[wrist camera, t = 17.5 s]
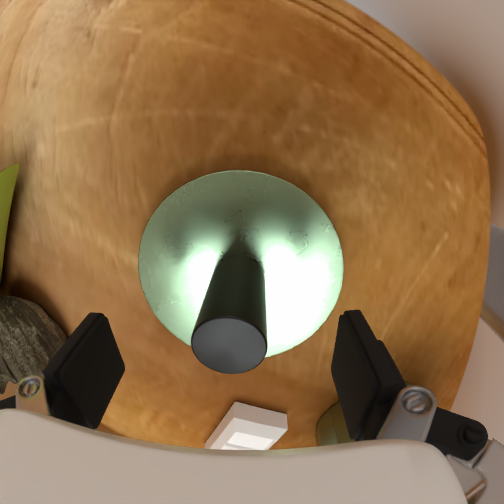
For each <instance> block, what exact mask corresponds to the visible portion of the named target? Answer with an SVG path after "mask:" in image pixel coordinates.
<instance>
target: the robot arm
mask: <svg viewBox="0 0 504 504" xmlns="http://www.w3.org/2000/svg"><path fill="white" fill-rule="evenodd" d="M124 371H125V365H124V362H123V360H122V357H121V354H120V352H119V349H118V347H117V344H116V341H115V338H114V336H113V333H112V330H111V327H110V324H109V321H108V319H107V317H105V316H104V314H102V313H93V312H91V313H89V314H88V315H87V316H86V318H85V319H84V320H83V321H82V322H81V323H80V325H79V326H78V327H77V328H76V329H75V331H74V332H73V333H72V334H71V336H70V337H69V338H68V339H67V341H66V342H65V343H64V344H63V346H62V347H61V348H60V349H59V351H58V352H57V353H56V354H55V356H54V357H53V358H52V360H51V361H50V362H49V364H48V365H47V366H46V368H45V369H44V370H43V372H42V373H43V375H44V376H45V378H44V379H42V378H41V377H40V376H37V375H30V376H27V377H25V378H23V379H22V380H21V381H20V382H19V383H18V384H17V387H16V391H15V393H16V395H15V396H12V397H9V398H7V399H4V400H1V401H0V504H504V445H502V444H501V443H499V442H498V441H497V440H495V439H494V438H493V439H492V440H491V441H490V440H489V439H488V434H487V430H486V429H485V427H484V426H483V425H482V424H481V423H480V422H478V421H476V420H473V419H470V418H467V417H464V416H461V415H458V414H455V413H452V412H450V411H447V410H444V409H441V408H439V407H437V400H436V397H435V395H434V394H433V392H431V391H430V390H429V389H428V388H425V387H423V386H418V385H411V386H408V387H407V386H406V384H405V382H404V380H403V378H402V376H401V374H400V372H399V370H398V369H397V367H396V365H395V363H394V361H393V359H392V358H391V356H390V354H389V352H388V351H387V349H386V347H385V345H384V343H383V342H382V341H381V340H377V339H376V337H375V335H374V334H373V332H372V330H371V328H370V327H369V325H368V323H367V321H366V320H365V318H364V316H363V314H362V313H361V311H360V310H349V311H345V312H344V315H340V317H339V322H338V329H337V336H336V342H335V348H334V354H333V359H332V365H331V372H332V376H333V380H334V383H335V387H336V390H337V394H338V397H339V401H340V404H341V408H342V411H343V415H344V419H345V422H346V426H347V430H348V433H349V437H350V439H355V442H350V443H341V444H334V445H326V446H317V447H306V448H293V449H276V450H222V449H205V448H193V447H183V446H174V445H167V444H160V443H154V442H148V441H142V440H137V439H132V438H127V437H122V436H118V435H113V434H109V433H105V432H101V431H97V430H94V429H96V428H98V426H99V424H100V422H101V420H102V417H103V415H104V413H105V411H106V409H107V407H108V404H109V402H110V400H111V398H112V396H113V394H114V392H115V390H116V388H117V386H118V384H119V382H120V380H121V378H122V376H123V374H124Z"/></svg>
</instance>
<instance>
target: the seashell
mask: <svg viewBox="0 0 504 504" xmlns="http://www.w3.org/2000/svg"><path fill="white" fill-rule="evenodd" d="M66 341H67V338H66V335H65V333H64V332H63V330H62V329H61V328H60V327H59V325H58V324H57V323H56V322H54V321H53V320H52V319H51V318H49V317H48V315H47V314H46V313H45V312H44V310H43V309H42V308H41V307H40V306H39V305H38V304H36V303H35V302H32V301H28V300H26V299H21V298H19V297H14V296H6V295H4V296H3V297H1V298H0V394H3V393H4V392H5V388H6V385H7V383H8V382H9V381H11V382H13V383H14V384H17V383H19V382H20V381H21V380H22V379H23V378H25V377H27V376H30V375H37V376H40V377H41V378H42V379H44V378H45V376H44V375H43V373H42V372H43V370H44V369H45V368H46V366H47V365H48V364H49V362H50V361H51V360H52V358H53V357H54V356H55V354H56V353H57V352H58V351H59V349H60V348H61V347H62V346H63V344H64V343H65V342H66Z"/></svg>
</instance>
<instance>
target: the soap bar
mask: <svg viewBox="0 0 504 504" xmlns="http://www.w3.org/2000/svg"><path fill="white" fill-rule="evenodd" d="M287 430H288V426H287V414H284V413H279V412H275V411H271V410H266V409H262V408H258V407H254V406H251V405H247V404H243V403H240V402H236V401H235V402H234V404H233V405H232V407H231V408H230V409H229V411H228V412H227V414H226V415H225V417H224V418H223V419H222V421H221V422H220V424H219V425H218V426H217V428H216V429H215V430H214V432H213V433H212V435H211V436H210V437H209V439H208V440H207V441H206V443H205V447H204V448H205V449H222V450H268V449H269V448H270V447H271V446H272V445H273V444H274V443H275V442H276V441H277V440H278V439H279V438H280V437H281V436H282V435H283V434H284V433H285V432H286V431H287Z"/></svg>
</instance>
